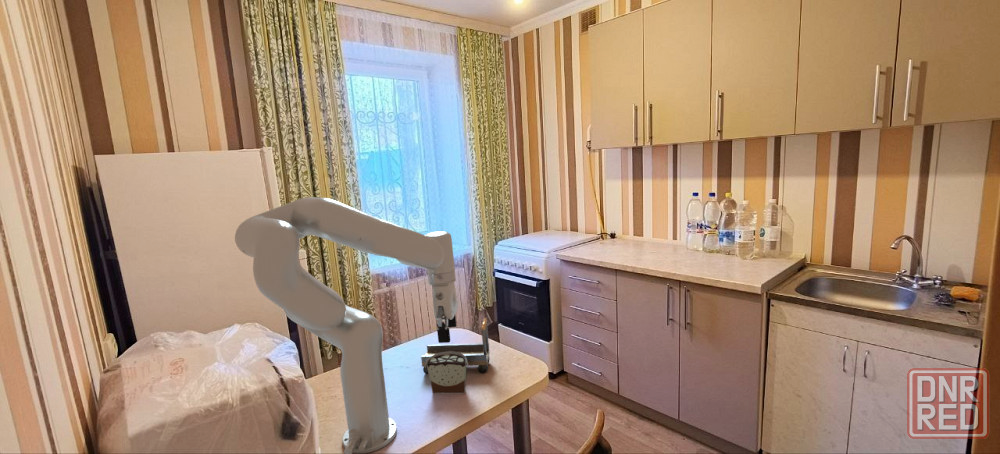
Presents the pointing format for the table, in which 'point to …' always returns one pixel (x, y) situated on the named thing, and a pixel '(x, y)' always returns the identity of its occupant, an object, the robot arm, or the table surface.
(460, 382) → the food container
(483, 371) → the trolley
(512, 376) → the table surface
